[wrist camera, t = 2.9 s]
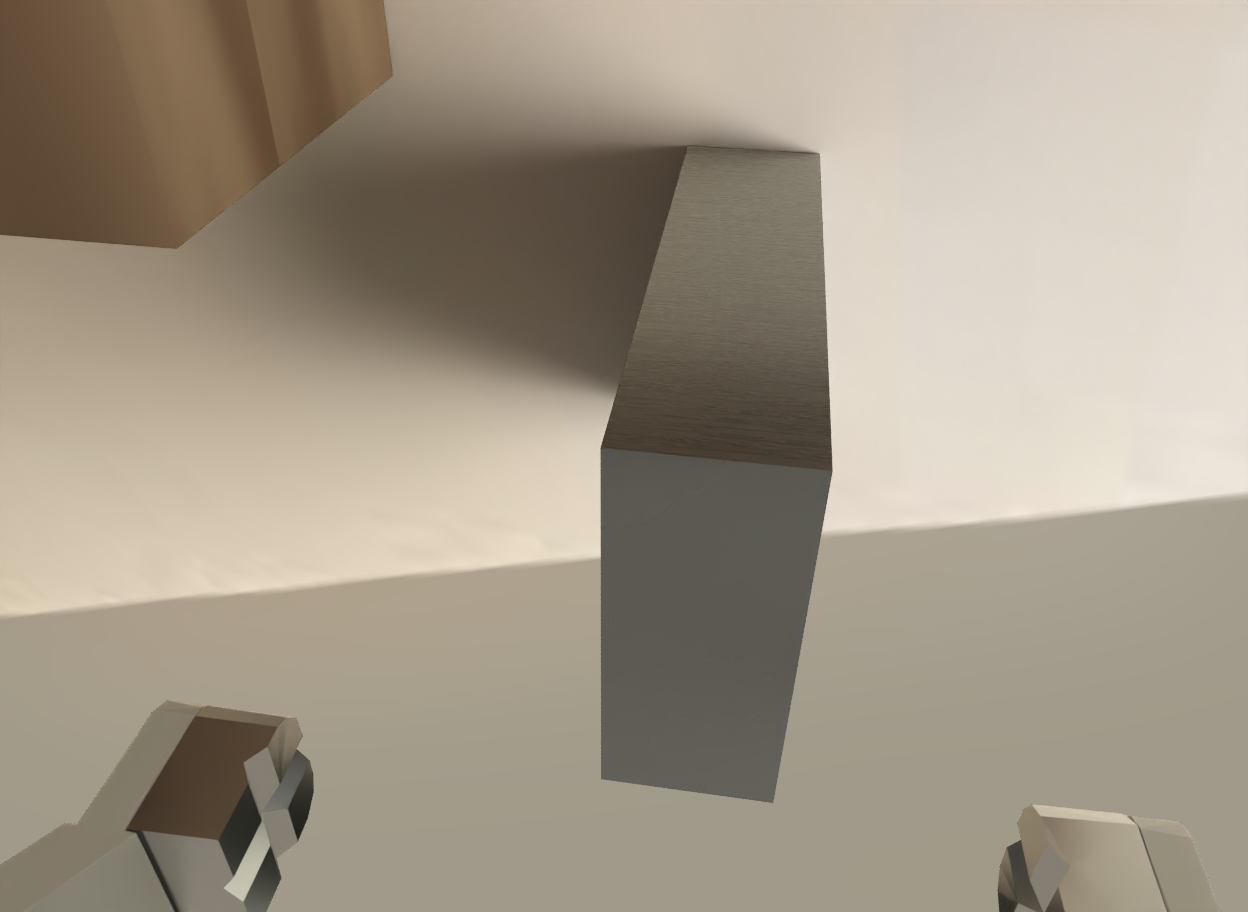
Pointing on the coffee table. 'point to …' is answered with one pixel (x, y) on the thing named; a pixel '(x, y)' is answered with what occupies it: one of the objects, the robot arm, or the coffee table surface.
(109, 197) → the slotted wooden socket block
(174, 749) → the robot arm
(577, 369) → the coffee table surface
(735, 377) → the grey wood block
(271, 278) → the coffee table surface
